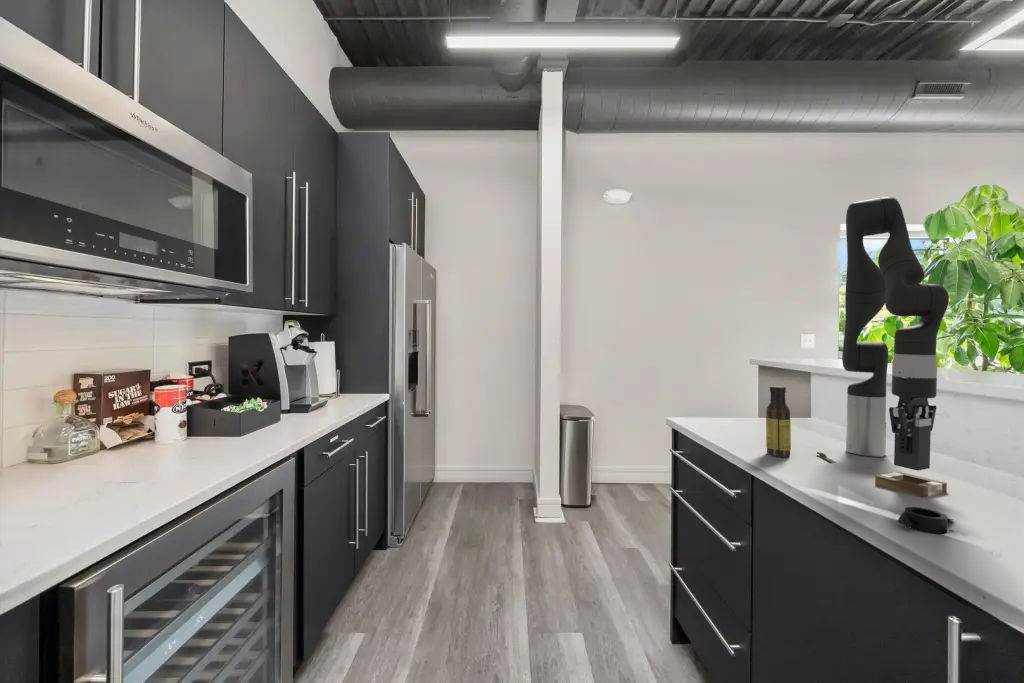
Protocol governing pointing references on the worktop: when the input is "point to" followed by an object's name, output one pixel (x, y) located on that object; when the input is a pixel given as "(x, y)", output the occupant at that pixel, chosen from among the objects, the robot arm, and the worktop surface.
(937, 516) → the duct tape
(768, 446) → the sauce bottle
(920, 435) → the dark grey upright block
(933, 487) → the wooden rectangular frame
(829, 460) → the tomahawk
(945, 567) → the worktop surface
